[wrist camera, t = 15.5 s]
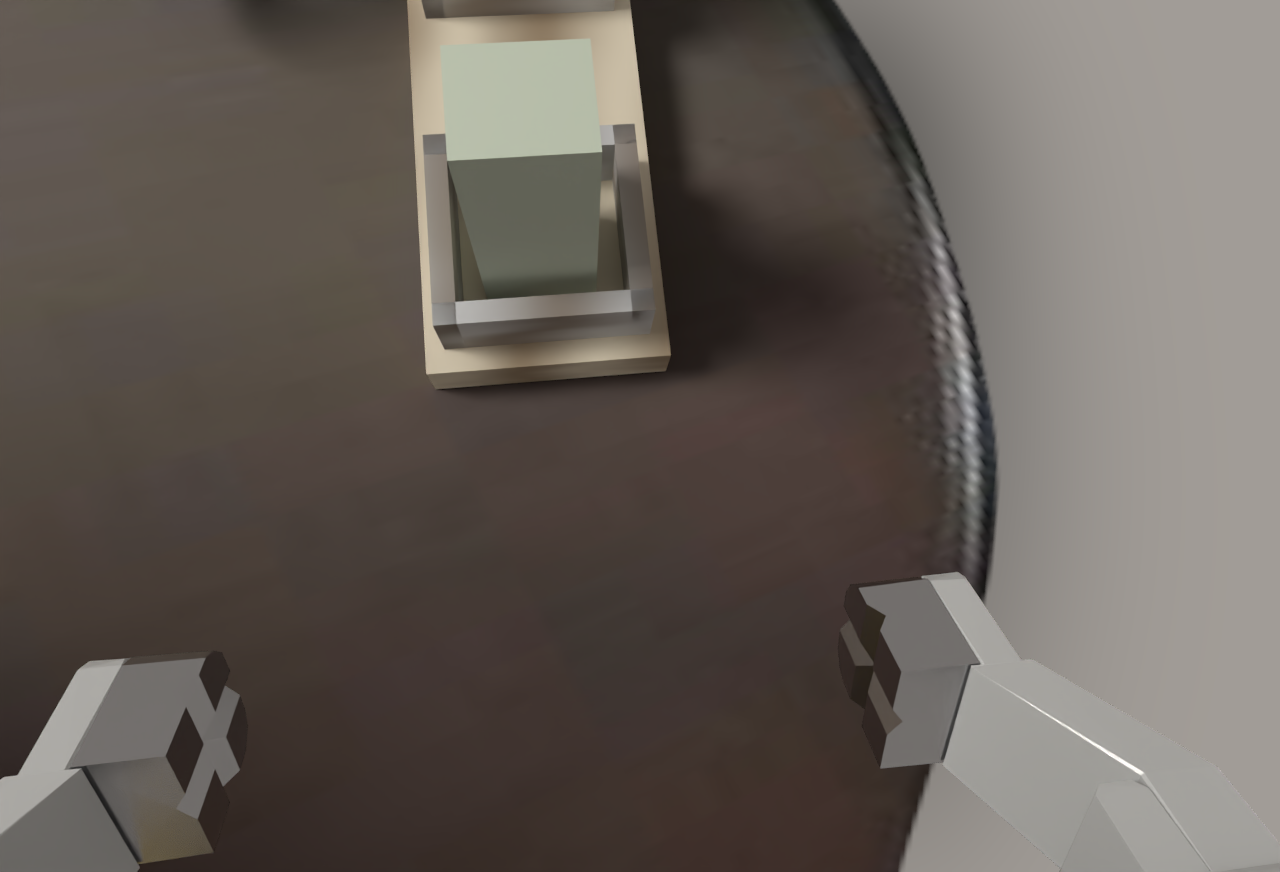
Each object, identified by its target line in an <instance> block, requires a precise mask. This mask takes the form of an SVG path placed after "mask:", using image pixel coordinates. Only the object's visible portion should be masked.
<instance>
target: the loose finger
mask: <svg viewBox="0 0 1280 872" xmlns="http://www.w3.org/2000/svg"><path fill="white" fill-rule="evenodd" d="M440 54H441V70H442V86H443V103H444V119H445V135H446V151H447V162H448V166H449V169H450V173H451V176H452V180H453V183H454V186H455V190H456V193H457V197H458V200H459V204H460V207H461V210H462V214H463V217H464V221H465V224H466V228H467V231H468V235H469V238H470V241H471V245H472V248H473V252H474V255H475V259H476V262H477V266H478V269H479V272H480V276H481V279H482V283H483V286H484V290H485V293H486V296H487V300H488V299H503V298H517V297H531V296H545V295H559V294H573V293H588V292H596V287H597V263H598V240H599V217H600V193H601V170H602V145H601V135H600V126H599V116H598V107H597V97H596V88H595V78H594V69H593V59H592V50H591V40H590V39H568V40H546V41H524V42H502V43H480V44H458V45H440Z"/></svg>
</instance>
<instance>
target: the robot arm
mask: <svg viewBox="0 0 1280 872" xmlns="http://www.w3.org/2000/svg"><path fill="white" fill-rule="evenodd" d="M844 608H845V610H846V612H847V614H848V617H849V619H850V620H849V621H848V622H847V623H846V624H845V625H844V626H843V627H842V628H841V629H840V632H839V641H838V657H839V668H840V671H841V675H842V679H843V683H844V685H845V688H846V690H847V693H848V695H849V697H850V699H851V700H853V701H854V702H855V703H857V704H858V705H859V706H861V707H862V708H864V709H865V710H864V716H863V721H862V728H863V730H864V733H865V735H866V737H867V740H868V742H869V744H870V746H871V749H872V751H873V753H874V756H875V758H876V760H877V763H878V765H879V767H880V768H890V767H900V766H911V765H921V764H931V763H941V762H944V763H943V766H944V767H945V768H946V769H947V770H948V771H949V772H951V773H952V774H953V775H954V776H955V777H956V778H958V779H959V780H960V781H961V782H962V783H963V784H964V785H966V786H967V787H968V788H969V789H970V790H971V791H972V792H974V793H975V794H976V795H977V796H978V797H979V798H980V799H982V800H983V801H984V802H985V803H986V804H987V805H988V806H990V807H991V808H992V809H993V810H994V811H995V812H996V813H998V814H999V815H1000V816H1001V817H1002V818H1003V819H1004V820H1006V821H1007V822H1008V823H1009V824H1010V825H1011V826H1012V827H1014V828H1015V829H1016V830H1017V831H1018V832H1019V833H1020V834H1022V835H1023V836H1024V837H1025V838H1026V839H1027V840H1028V841H1030V842H1031V843H1032V844H1033V845H1034V846H1035V847H1036V848H1038V849H1039V850H1040V851H1041V852H1042V853H1043V854H1045V855H1046V856H1047V857H1048V858H1049V859H1050V860H1051V861H1053V862H1054V863H1055V864H1056V865H1057V866H1058V867H1060V868H1061V870H1060V872H1280V843H1279V842H1278V841H1277V839H1276V838H1275V837H1274V836H1273V834H1272V833H1271V832H1270V831H1269V830H1268V828H1267V827H1266V826H1265V825H1264V823H1263V822H1262V821H1261V820H1260V819H1259V817H1258V816H1257V815H1256V814H1255V812H1254V811H1253V810H1252V809H1251V808H1250V806H1249V805H1248V804H1247V802H1246V801H1245V800H1244V799H1243V798H1242V796H1241V795H1240V794H1239V793H1238V791H1237V790H1236V789H1235V788H1234V787H1233V785H1232V784H1231V783H1230V782H1229V780H1228V779H1227V778H1226V777H1225V776H1224V774H1223V773H1222V772H1221V771H1220V769H1219V768H1218V767H1217V766H1216V765H1214V764H1212V763H1210V762H1209V761H1207V760H1205V759H1204V758H1202V757H1200V756H1199V755H1197V754H1195V753H1193V752H1191V751H1190V750H1188V749H1186V748H1185V747H1183V746H1181V745H1180V744H1178V743H1176V742H1174V741H1173V740H1171V739H1169V738H1168V737H1166V736H1164V735H1162V734H1160V733H1159V732H1157V731H1155V730H1154V729H1152V728H1150V727H1149V726H1147V725H1145V724H1143V723H1142V722H1140V721H1138V720H1137V719H1135V718H1133V717H1131V716H1130V715H1128V714H1126V713H1124V712H1123V711H1121V710H1119V709H1118V708H1116V707H1114V706H1113V705H1111V704H1109V703H1107V702H1106V701H1104V700H1102V699H1100V698H1099V697H1097V696H1095V695H1094V694H1092V693H1090V692H1088V691H1087V690H1085V689H1083V688H1082V687H1080V686H1078V685H1076V684H1075V683H1073V682H1071V681H1070V680H1068V679H1066V678H1064V677H1063V676H1061V675H1059V674H1058V673H1056V672H1054V671H1052V670H1051V669H1049V668H1047V667H1046V666H1044V665H1042V664H1040V663H1039V662H1037V661H1035V660H1033V659H1028V660H1021V658H1020V656H1019V655H1018V654H1017V652H1016V651H1015V649H1014V648H1013V646H1012V645H1011V643H1010V642H1009V640H1008V639H1007V637H1006V636H1005V635H1004V633H1003V632H1002V630H1001V629H1000V627H999V626H998V624H997V623H996V621H995V620H994V619H993V617H992V616H991V614H990V613H989V611H988V610H987V608H986V607H985V605H984V604H983V602H982V601H981V600H980V598H979V597H978V595H977V594H976V592H975V591H974V589H973V588H972V586H971V585H970V584H969V582H968V581H967V579H966V578H965V576H963V575H961V574H960V573H958V572H954V573H945V574H936V575H928V576H922V577H911V578H903V579H894V580H885V581H876V582H867V583H858V584H850V586H849V588H848V589H847V591H846V595H845V601H844ZM229 672H230V669H229V667H228V665H227V663H226V661H225V659H224V656H223V654H222V652H217V651H201V652H189V653H176V654H163V655H151V656H138V657H131V658H124V659H111V660H98V661H89V662H87V663H86V664H85V665H84V666H82V667H81V668H80V669H78V670H77V672H76V673H75V675H74V677H73V679H72V680H71V682H70V684H69V686H68V687H67V689H66V691H65V693H64V694H63V696H62V698H61V700H60V701H59V703H58V705H57V707H56V708H55V710H54V712H53V714H52V715H51V717H50V719H49V721H48V722H47V724H46V726H45V728H44V730H43V731H42V733H41V735H40V737H39V738H38V740H37V742H36V744H35V745H34V747H33V749H32V751H31V752H30V754H29V756H28V758H27V759H26V761H25V763H24V765H23V766H22V768H21V770H20V772H19V773H18V775H16V776H9V777H3V778H2V779H1V780H0V872H137V871H138V870H139V869H140V866H139V865H138V864H143V863H149V862H156V861H162V860H169V859H175V858H182V857H188V856H195V855H201V854H208V853H214V851H215V848H216V845H217V842H218V838H219V835H220V832H221V829H222V826H223V823H224V820H225V816H226V813H227V810H228V807H229V804H230V801H229V799H228V797H227V795H226V792H225V790H224V788H223V786H224V785H225V784H226V783H227V782H228V781H229V780H230V779H231V778H232V777H233V776H234V775H235V774H236V773H238V772H239V771H240V768H241V765H242V761H243V758H244V754H245V751H246V742H247V728H248V724H247V718H246V712H245V707H244V705H243V702H242V699H241V697H240V695H239V694H237V693H236V692H234V691H233V690H231V689H229V688H228V687H226V686H225V684H226V681H227V678H228V675H229Z"/></svg>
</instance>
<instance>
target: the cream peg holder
mask: <svg viewBox="0 0 1280 872" xmlns="http://www.w3.org/2000/svg"><path fill="white" fill-rule="evenodd" d="M407 4H408V24H409V43H410V63H411V83H412V102H413V122H414V142H415V161H416V181H417V201H418V221H419V240H420V260H421V280H422V299H423V319H424V339H425V358H426V375H427V376H428V378H429V379H430V381H431V383H432V384H433V386H434V388H435V389H447V388H459V387H472V386H484V385H497V384H509V383H522V382H535V381H547V380H560V379H572V378H585V377H597V376H610V375H623V374H635V373H648V372H660V371H666V369H667V366H668V363H669V360H670V357H671V351H670V343H669V334H668V325H667V317H666V308H665V299H664V291H663V282H662V274H661V265H660V256H659V248H658V239H657V230H656V222H655V213H654V205H653V196H652V187H651V179H650V170H649V161H648V153H647V144H646V136H645V127H644V118H643V110H642V101H641V92H640V84H639V75H638V66H637V58H636V49H635V41H634V32H633V23H632V15H631V6H630V0H407ZM568 39H590V40H591V50H592V59H593V69H594V78H595V88H596V97H597V107H598V116H599V126H600V135H601V145H602V170H601V193H600V217H599V240H598V263H597V287H596V292H588V293H573V294H559V295H545V296H531V297H517V298H503V299H488V300H487V296H486V293H485V290H484V286H483V283H482V279H481V276H480V272H479V269H478V266H477V262H476V259H475V255H474V252H473V248H472V245H471V241H470V238H469V235H468V231H467V228H466V224H465V221H464V217H463V214H462V210H461V207H460V204H459V200H458V197H457V193H456V190H455V186H454V183H453V180H452V176H451V173H450V169H449V166H448V162H447V151H446V135H445V119H444V103H443V86H442V70H441V54H440V45H458V44H480V43H502V42H524V41H546V40H568Z"/></svg>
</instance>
